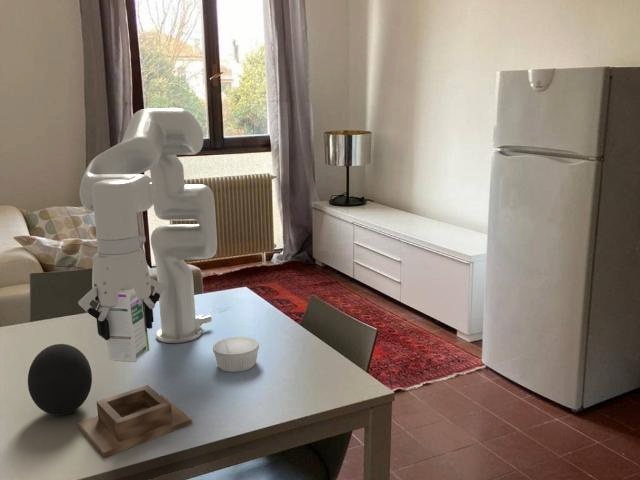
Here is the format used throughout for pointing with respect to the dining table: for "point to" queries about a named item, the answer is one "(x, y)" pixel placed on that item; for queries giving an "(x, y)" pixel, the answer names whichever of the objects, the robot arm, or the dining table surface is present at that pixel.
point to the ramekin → (236, 353)
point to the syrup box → (127, 328)
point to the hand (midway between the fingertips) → (126, 331)
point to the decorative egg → (59, 379)
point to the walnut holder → (132, 420)
